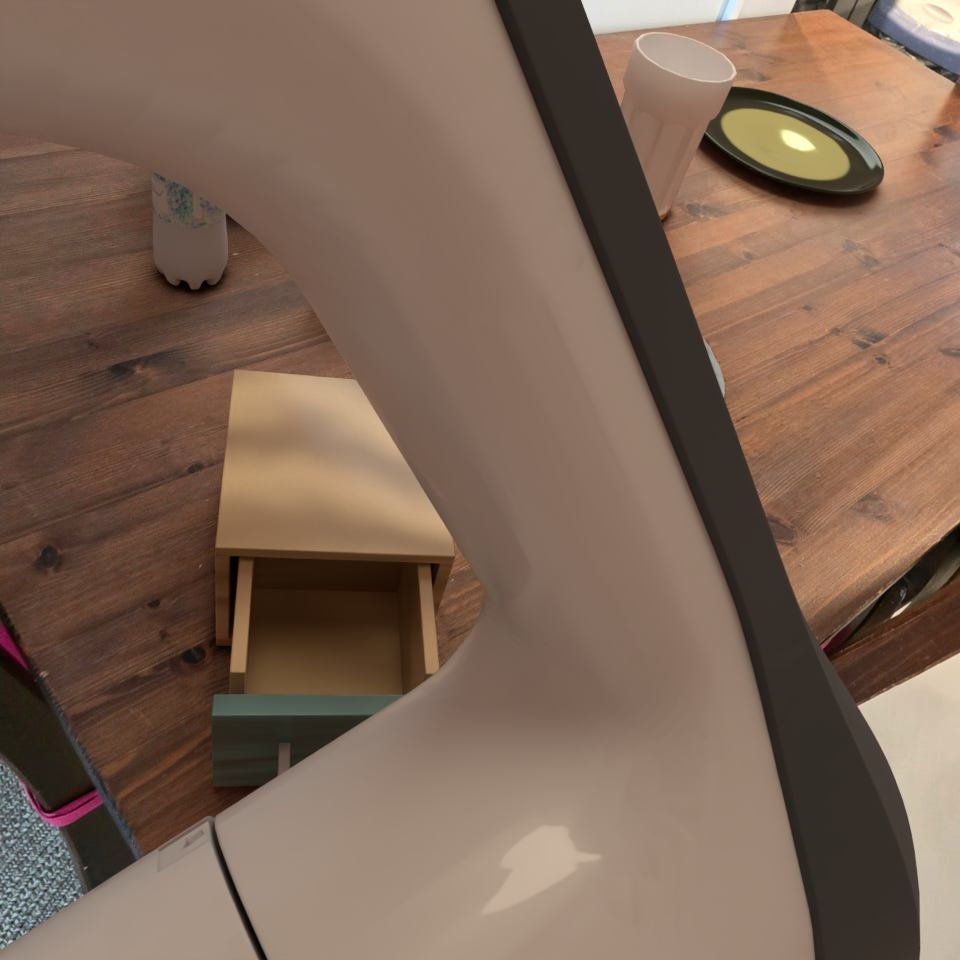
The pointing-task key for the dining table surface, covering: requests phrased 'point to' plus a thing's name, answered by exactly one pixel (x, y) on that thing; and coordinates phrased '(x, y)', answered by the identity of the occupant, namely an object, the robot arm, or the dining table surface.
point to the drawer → (316, 657)
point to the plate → (794, 143)
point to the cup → (671, 105)
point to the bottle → (187, 234)
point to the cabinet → (317, 485)
